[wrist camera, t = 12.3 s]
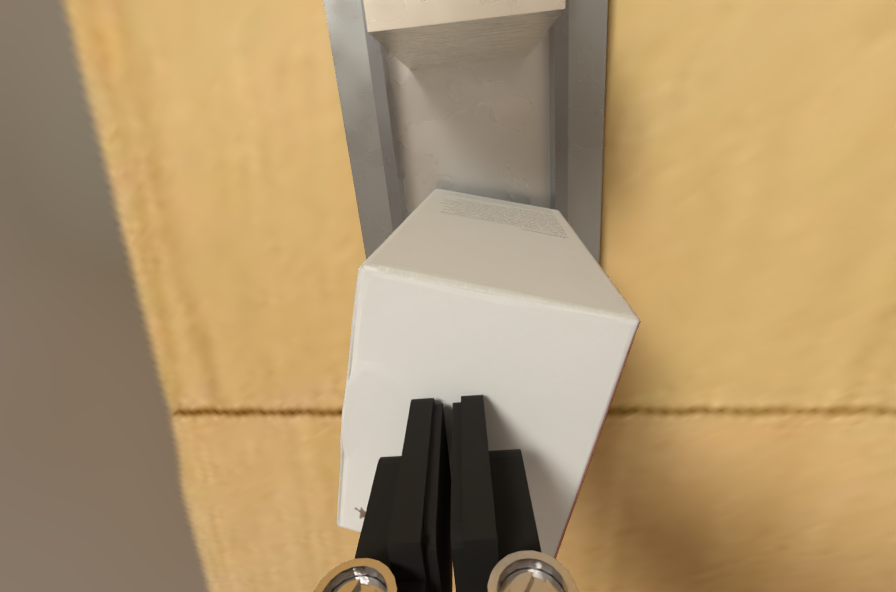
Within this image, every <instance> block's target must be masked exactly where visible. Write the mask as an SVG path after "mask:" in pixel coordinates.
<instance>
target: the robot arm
mask: <svg viewBox="0 0 896 592" xmlns="http://www.w3.org/2000/svg"><path fill="white" fill-rule="evenodd" d="M452 562H453V568H454V577H455V585H456V592H579V590H578V588H577V585H576V583H575V581H574V579H573V578H572V576H571V574H570V573H569V571H568V570H567V569H566V568H565V567H564V566H563V565H562V564H561V563H560V562H559V561H558V560H556V559H554V558H553V557H551V556H549V555H547V554H545V553H542V552H541V547H540V542H539V537H538V532H537V527H536V522H535V517H534V512H533V507H532V502H531V497H530V492H529V487H528V482H527V477H526V472H525V467H524V462H523V457H522V453H521V450H520V449H511V450H494V451H489V449H488V439H487V429H486V419H485V409H484V399H483V395H470V396H461V402H455V403H453V404H452V465H451V472H450V463H449V454H448V444H447V435H446V426H445V416H444V407H443V403H439V404H435V400H434V398H423V399H412V400H411V403H410V409H409V415H408V420H407V426H406V432H405V438H404V444H403V450H402V456H389V457H380V459H379V461H378V464H377V468H376V472H375V476H374V480H373V484H372V488H371V493H370V497H369V501H368V505H367V509H366V514H365V518H364V522H363V526H362V530H361V534H360V539H359V543H358V547H357V551H356V555H355V559H353V560H350V561H347V562H344V563H342V564H340V565H339V566H337V567H335V568H334V569H332V570H331V571H330V572H329V573H328V574H327V575H326V576H325V577H324V578H323V579H322V580H321V581H320V582H319V584H318V585H317V587H316V589H315V590H314V592H452Z"/></svg>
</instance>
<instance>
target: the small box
mask: <svg viewBox="0 0 896 592" xmlns="http://www.w3.org/2000/svg"><path fill="white" fill-rule="evenodd" d="M640 322H641V321H640V320H639V318H638V317H637V315H636V314H635V312H634V311H633V310H632V308H631V307H630V306H629V305H628V303H627V302H626V300H625V299H624V298H623V296H622V295H621V294H620V292H619V291H618V290H617V288H616V287H615V285H614V284H613V283H612V281H611V280H610V279H609V277H608V276H607V274H606V273H605V272H604V271H603V269H602V268H601V267H600V265H599V264H598V263H597V261H596V260H595V259H594V257H593V256H592V254H591V253H590V252H589V250H588V249H587V248H586V246H585V245H584V244H583V242H582V241H581V240H580V238H579V237H578V235H577V234H576V233H575V231H574V230H573V229H572V227H571V226H570V225H569V223H568V222H567V221H566V219H565V218H564V217H563V215H562V214H561V213H560V212H559V211H558V210H554V209H549V208H543V207H537V206H532V205H526V204H521V203H515V202H509V201H504V200H498V199H493V198H487V197H482V196H476V195H471V194H465V193H459V192H454V191H448V190H443V189H435V190H434V191H433V192H432V193H431V194H430V195H429V196H428V197H427V198H426V199H425V200H424V201H423V202H422V203H421V204H420V205H419V206H418V207H417V208H416V209H415V210H414V211H413V212H412V213H411V214H410V215H409V216H408V217H407V218H406V219H405V220H404V222H403V223H402V224H401V225H400V226H399V227H398V228H397V229H396V230H395V231H394V232H393V233H392V234H391V235H390V236H389V237H388V238H387V239H386V240H385V241H384V242H383V244H382V245H381V246H379V247H378V248H377V249H376V250H375V251H374V252H373V253H372V254H371V255H370V256H369V257H368V258H367V259H366V260H365V261H364V262H363V264H362V265H361V266H360V267H359V270H358V274H357V283H356V291H355V300H354V310H353V319H352V329H351V340H350V351H349V361H348V372H347V381H346V389H345V396H344V403H343V410H342V422H341V438H340V445H341V464H340V480H339V497H338V510H337V525H338V526H339V527H342V528H346V529H350V530H354V531H358V532H361V530H362V526H363V522H364V518H365V514H366V509H367V505H368V501H369V497H370V493H371V488H372V484H373V480H374V476H375V472H376V468H377V464H378V461H379V459H380V457H389V456H402V450H403V444H404V438H405V432H406V426H407V420H408V415H409V409H410V403H411V400H412V399H423V398H434V400H435V404H439V403H443V407H444V416H445V426H446V435H447V444H448V454H449V463H450V472H451V465H452V404H453V403H455V402H461V396H470V395H483V399H484V409H485V419H486V429H487V439H488V449H489V451H494V450H511V449H520V450H521V453H522V457H523V462H524V467H525V472H526V477H527V482H528V487H529V492H530V497H531V502H532V507H533V512H534V517H535V522H536V527H537V532H538V537H539V542H540V547H541V552H542V553H545V554H547V555H549V556H551V557H553V558H554V559H556V557H557V554H558V551H559V548H560V545H561V542H562V540H563V537H564V534H565V531H566V528H567V525H568V522H569V520H570V517H571V514H572V512H573V509H574V506H575V503H576V500H577V498H578V495H579V492H580V489H581V486H582V483H583V480H584V477H585V474H586V471H587V469H588V467H589V464H590V461H591V459H592V456H593V453H594V449H595V446H596V444H597V442H598V439H599V437H600V434H601V431H602V428H603V425H604V422H605V420H606V416H607V413H608V410H609V408H610V405H611V402H612V399H613V397H614V394H615V391H616V388H617V385H618V382H619V379H620V377H621V374H622V371H623V368H624V366H625V363H626V360H627V357H628V354H629V351H630V349H631V346H632V343H633V340H634V337H635V334H636V331H637V329H638V326H639V324H640Z"/></svg>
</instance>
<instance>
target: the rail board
mask: <svg viewBox="0 0 896 592" xmlns="http://www.w3.org/2000/svg"><path fill="white" fill-rule="evenodd" d="M324 6H325V12H326V18H327V25H328V31H329V37H330V43H331V49H332V55H333V61H334V67H335V73H336V79H337V85H338V91H339V97H340V103H341V109H342V115H343V121H344V127H345V133H346V139H347V145H348V151H349V157H350V163H351V169H352V175H353V181H354V187H355V193H356V199H357V205H358V212H359V218H360V224H361V230H362V236H363V242H364V248H365V254H366V259H367V258H368V257H369V256H370V255H371V254H372V253H373V252H374V251H375V250H376V249H377V248H378V247H379V246H381V245H382V244H383V242H384V241H385V240H386V239H387V238H388V237H389V236H390V235H391V234H392V233H393V232H394V231H395V230H396V229H397V228H398V227H399V226H400V225H401V224H402V223H403V222H404V220H405V219H406V218H407V217H408V216H409V215H410V214H411V213H412V212H413V211H414V210H415V209H416V208H417V207H418V206H419V205H420V204H421V203H422V202H423V201H424V200H425V199H426V198H427V197H428V196H429V195H430V194H431V193H432V192H433V191H434V190H435V189H443V190H448V191H454V192H459V193H465V194H471V195H476V196H482V197H487V198H493V199H498V200H504V201H509V202H515V203H521V204H526V205H532V206H537V207H543V208H549V209H554V210H558V211H559V212H560V213H561V214H562V215H563V217H564V218H565V219H566V221H567V222H568V223H569V225H570V226H571V227H572V229H573V230H574V231H575V233H576V234H577V235H578V237H579V238H580V240H581V241H582V242H583V244H584V245H585V246H586V248H587V249H588V250H589V252H590V253H591V254H592V256H593V257H594V259H595V260H596V261H597V263H598V264H599V257H600V227H601V196H602V166H603V135H604V105H605V74H606V44H607V14H608V0H324Z"/></svg>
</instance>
